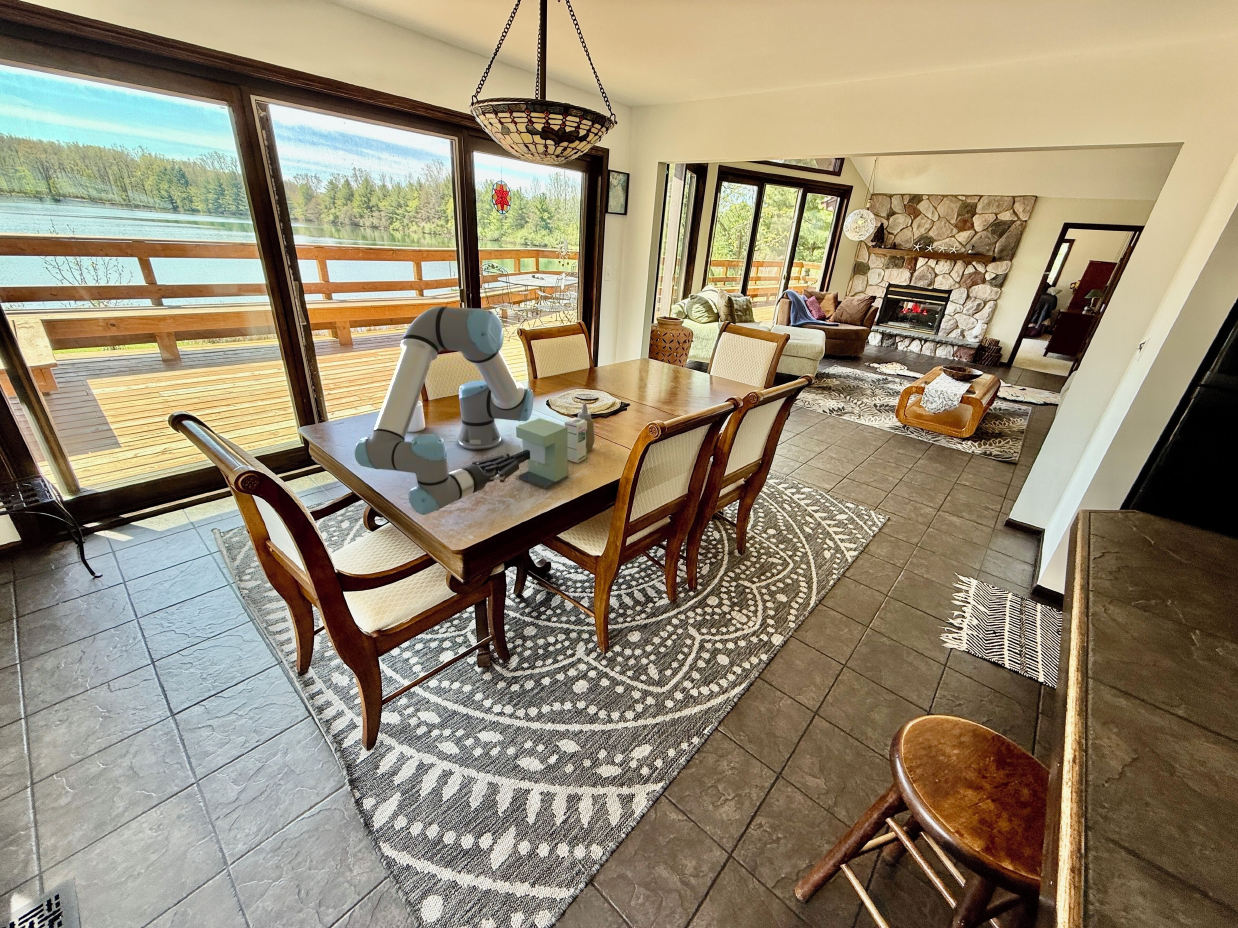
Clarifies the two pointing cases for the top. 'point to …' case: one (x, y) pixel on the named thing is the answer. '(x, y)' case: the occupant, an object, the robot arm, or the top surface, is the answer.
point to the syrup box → (577, 439)
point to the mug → (417, 419)
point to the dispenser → (546, 452)
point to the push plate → (535, 451)
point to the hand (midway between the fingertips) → (528, 454)
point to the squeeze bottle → (588, 426)
